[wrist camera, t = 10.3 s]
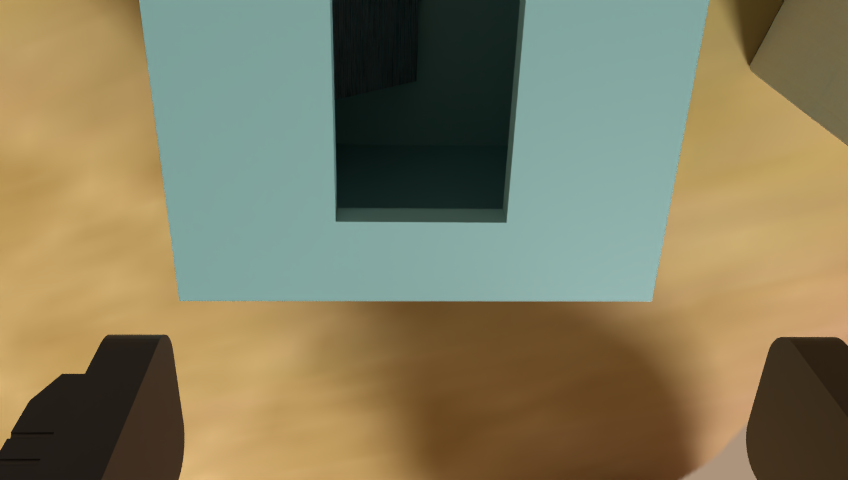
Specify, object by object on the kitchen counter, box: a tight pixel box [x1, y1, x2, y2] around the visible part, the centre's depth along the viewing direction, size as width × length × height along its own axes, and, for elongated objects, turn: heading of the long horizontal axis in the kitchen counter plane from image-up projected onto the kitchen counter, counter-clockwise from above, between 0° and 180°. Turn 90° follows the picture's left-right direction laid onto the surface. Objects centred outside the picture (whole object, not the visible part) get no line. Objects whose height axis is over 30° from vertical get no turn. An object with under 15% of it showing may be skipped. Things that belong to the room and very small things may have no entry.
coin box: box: [139, 0, 709, 301], centre depth 29 cm, size 16×16×13 cm
